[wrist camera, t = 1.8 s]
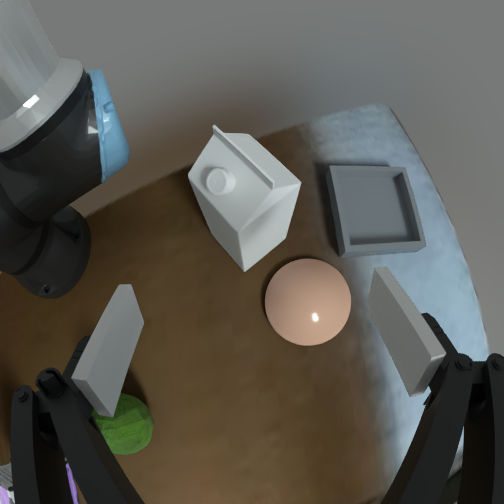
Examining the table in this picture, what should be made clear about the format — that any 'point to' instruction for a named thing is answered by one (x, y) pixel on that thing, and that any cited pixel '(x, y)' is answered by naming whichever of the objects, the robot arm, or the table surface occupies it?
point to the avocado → (126, 425)
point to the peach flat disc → (307, 302)
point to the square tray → (374, 211)
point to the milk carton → (243, 195)
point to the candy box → (3, 496)
